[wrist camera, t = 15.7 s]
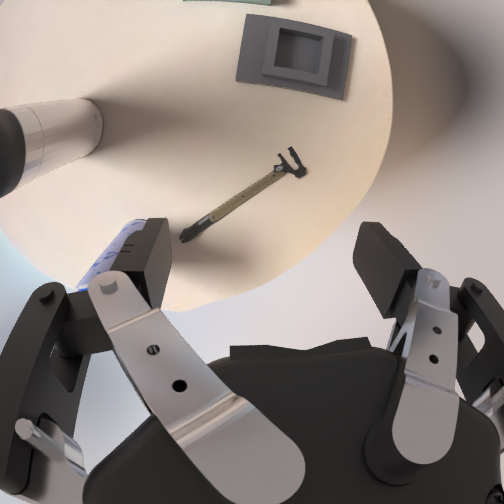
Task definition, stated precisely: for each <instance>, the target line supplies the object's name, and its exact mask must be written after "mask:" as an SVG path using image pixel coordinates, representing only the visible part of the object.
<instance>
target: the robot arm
mask: <svg viewBox="0 0 504 504" xmlns="http://www.w3.org/2000/svg"><path fill="white" fill-rule="evenodd" d="M102 131H103V120H102V116H101V113H100V111H99V109H98V108H97V106H96V105H95V104H94V103H92V102H91V101H89V100H86V99H72V100H59V101H49V102H40V103H32V104H25V105H19V106H14V107H8V108H3V109H0V198H2V197H3V196H5V195H7V194H9V193H10V192H12V191H13V190H15V189H17V188H19V187H21V186H22V185H24V184H26V183H28V182H30V181H32V180H34V179H36V178H38V177H40V176H42V175H44V174H46V173H48V172H50V171H52V170H54V169H56V168H59V167H61V166H63V165H65V164H67V163H70V162H72V161H75V160H77V159H79V158H82V157H84V156H86V155H88V154H90V153H91V152H92V151H93V150H94V149H95V148H96V146H97V145H98V143H99V141H100V139H101V136H102ZM171 263H172V252H171V243H170V234H169V225H168V220H167V218H148V220H147V221H146V223H145V225H144V227H143V229H142V230H136V231H135V232H133V233H132V234H131V235H129V236H128V237H127V239H126V240H125V242H124V244H123V246H122V248H121V249H120V252H119V253H118V255H117V257H116V258H115V260H114V262H113V264H112V266H111V268H110V270H109V271H107V272H104V273H101V274H99V275H97V276H96V277H94V278H93V279H92V280H91V281H90V283H89V285H88V290H84V291H79V292H74V293H70V294H67V293H66V290H65V288H64V286H63V285H62V284H61V283H58V282H51V283H46V284H44V285H42V286H40V287H39V288H37V289H36V290H35V291H34V292H33V293H32V295H31V297H30V298H29V300H28V302H27V303H26V305H25V307H24V309H23V311H22V312H21V314H20V316H19V318H18V320H17V322H16V324H15V326H14V328H13V330H12V332H11V333H10V336H9V338H8V340H7V342H6V344H5V346H4V348H3V351H2V353H1V355H0V489H1V490H2V491H4V492H5V493H7V494H9V495H11V496H13V497H16V498H18V499H21V500H23V501H26V502H28V503H31V504H504V491H503V488H502V483H501V472H500V454H501V453H503V452H504V310H503V308H502V307H501V306H500V304H499V303H498V302H497V300H496V299H495V298H494V296H493V295H492V294H491V293H490V292H489V290H488V289H487V287H486V286H485V285H484V284H482V283H481V282H480V281H478V280H476V279H473V278H465V279H464V281H463V283H462V285H461V287H460V288H458V287H452V286H449V282H448V281H447V279H446V278H445V277H444V276H443V275H442V274H440V273H439V272H437V271H435V270H432V269H428V268H427V269H426V268H422V267H421V266H420V264H419V263H418V262H417V261H416V260H415V258H414V257H413V256H412V255H411V254H410V253H409V251H408V250H407V249H406V248H404V246H403V245H402V243H401V242H400V241H399V240H398V239H396V238H395V237H393V236H392V235H391V234H390V233H389V232H388V231H387V230H386V229H385V228H384V227H383V225H382V224H381V223H379V222H363V223H361V225H360V229H359V232H358V236H357V240H356V244H355V248H354V252H353V264H354V267H355V269H356V270H357V272H358V274H359V276H360V277H361V279H362V281H363V282H364V284H365V286H366V288H367V290H368V291H369V293H370V295H371V297H372V298H373V300H374V302H375V304H376V306H377V308H378V309H379V311H380V313H381V315H382V317H383V318H384V319H387V318H396V321H395V323H394V325H393V328H392V331H391V335H390V339H389V341H388V345H387V348H386V350H385V349H382V348H377V347H372V346H371V344H370V342H369V340H368V337H361V338H353V339H343V340H336V341H333V342H330V343H327V344H324V345H321V346H318V347H315V348H312V349H309V350H297V349H290V348H283V347H277V346H270V345H248V346H246V345H245V346H230V356H229V357H225V358H221V359H218V360H216V361H213V362H211V363H209V364H207V365H206V364H205V362H204V361H203V360H202V359H201V358H200V357H199V356H198V354H197V353H196V352H195V351H194V350H193V349H192V348H191V347H190V345H189V344H188V343H187V342H186V341H185V339H184V338H183V337H182V336H181V335H180V333H179V332H178V331H177V330H176V329H175V327H174V326H173V325H172V324H171V322H170V321H169V320H168V319H167V318H166V316H165V315H164V314H163V313H162V312H161V310H160V308H161V304H162V300H163V296H164V292H165V288H166V284H167V280H168V276H169V272H170V269H171ZM475 321H476V323H477V324H478V325H479V327H480V329H481V330H482V332H483V334H484V336H485V343H484V346H483V348H482V349H481V350H480V352H479V353H478V352H477V350H476V349H475V347H474V345H473V343H472V342H471V340H470V338H469V337H468V335H467V333H468V332H469V330H470V329H471V327H472V326H473V324H474V322H475ZM53 347H54V349H53ZM52 350H53V351H52ZM110 350H113V352H114V354H115V356H116V358H117V360H118V362H119V363H120V365H121V367H122V369H123V371H124V372H125V374H126V376H127V378H128V379H129V381H130V383H131V384H132V386H133V388H134V389H135V391H136V393H137V395H138V396H139V398H140V400H141V401H142V403H143V405H144V406H145V407H146V409H147V411H148V412H149V414H150V416H149V417H148V418H147V419H146V420H145V421H144V422H143V423H142V424H141V425H140V426H139V427H138V428H137V429H136V430H135V431H134V432H133V433H132V434H130V435H129V436H128V437H127V438H126V439H125V440H124V441H123V442H122V443H121V444H120V445H119V446H117V447H116V448H115V449H114V450H113V451H112V452H111V453H110V454H109V455H108V456H106V457H105V458H104V459H103V460H102V461H101V462H100V463H99V464H98V465H96V466H95V467H94V468H93V470H92V471H91V472H90V473H89V475H87V473H86V471H85V468H84V462H83V453H82V450H81V448H80V446H79V444H78V443H77V442H76V441H75V440H74V439H73V435H74V429H75V423H76V418H77V413H78V407H79V403H80V398H81V394H82V389H83V385H84V381H85V377H86V373H87V368H88V365H89V361H90V357H91V354H94V353H99V352H104V351H110ZM51 352H52V354H51ZM50 355H51V357H50ZM455 379H457V381H458V383H459V385H460V387H461V389H462V392H463V394H464V397H465V399H466V401H467V402H466V401H465V400H464V399H462V398H461V397H459V396H458V394H457V393H456V392H455Z"/></svg>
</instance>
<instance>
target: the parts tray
mask: <svg viewBox="0 0 504 504" xmlns="http://www.w3.org/2000/svg"><path fill="white" fill-rule="evenodd" d="M183 1H229V2H242V3H252V4H261V5H268V6H270V4H271V0H183Z"/></svg>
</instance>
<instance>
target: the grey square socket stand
mask: <svg viewBox="0 0 504 504" xmlns="http://www.w3.org/2000/svg"><path fill="white" fill-rule="evenodd" d="M351 39H352V35H349V34H346V33H342V32H339V31H335V30H332V29H328V28H324V27H320V26H316V25H312V24H308V23H303V22H298V21H293V20H288V19H282V18H276V17H269V16H262V15H254V14H246V19H245V25H244V31H243V37H242V43H241V49H240V55H239V62H238V68H237V75H236V81H237V82H246V83H254V84H261V85H268V86H275V87H281V88H287V89H292V90H297V91H302V92H307V93H312V94H316V95H321V96H325V97H329V98H333V99H337V100H342V99H343V93H344V87H345V81H346V75H347V68H348V61H349V54H350V47H351Z"/></svg>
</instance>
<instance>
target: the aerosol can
mask: <svg viewBox="0 0 504 504" xmlns="http://www.w3.org/2000/svg"><path fill="white" fill-rule="evenodd" d="M145 223H146V220H142V219H136V220H132V221H129V222H128V223H127V224H126V225H125V226H124V227H123V228H122V230H121V232H120V233H119V234H118V235H117V236H116V238H115V239H114V240H113V241H112V242H111V243H110V245H109V246H108V247H107V248H106V249H105V251H104V252H103V253H102V254H101V256H100V257H99V258H98V259H97V260H96V262H95V263H94V264H93V265H92V267H91V268H90V269H89V271H88V272H87V273H86V274H85V276H84V277H83V278H82V280H81V281H80V282H79V284H78V285H77V286H76V289H75V291H74V292H79V291H84V290H88V285H89V283H90V281H91V280H92V279H93V278H94V277H96V276H97V275H99V274H101V273H104V272H107V271H109V270H110V268H111V266H112V264H113V262H114V260H115V258H116V257H117V255H118V253H119V252H120V249H121V248H122V246H123V244H124V242H125V240H126V239H127V237H128V236H129V235H131V234H132V233H133V232H135V231H136V230H142V229H143V227H144V225H145Z"/></svg>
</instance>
